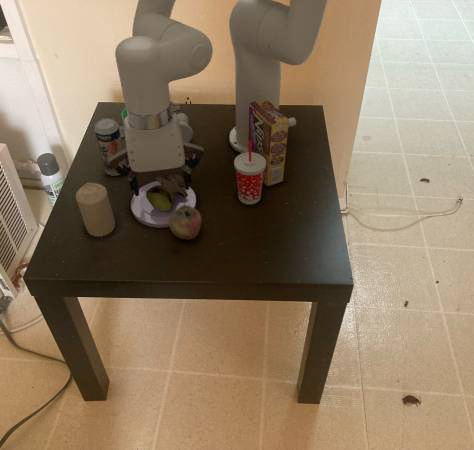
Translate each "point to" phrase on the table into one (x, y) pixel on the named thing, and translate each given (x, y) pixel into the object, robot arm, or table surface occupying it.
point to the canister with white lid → (109, 142)
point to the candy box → (268, 138)
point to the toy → (166, 192)
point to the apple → (185, 222)
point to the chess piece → (185, 127)
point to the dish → (153, 216)
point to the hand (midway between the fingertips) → (162, 188)
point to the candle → (95, 209)
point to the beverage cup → (249, 175)
